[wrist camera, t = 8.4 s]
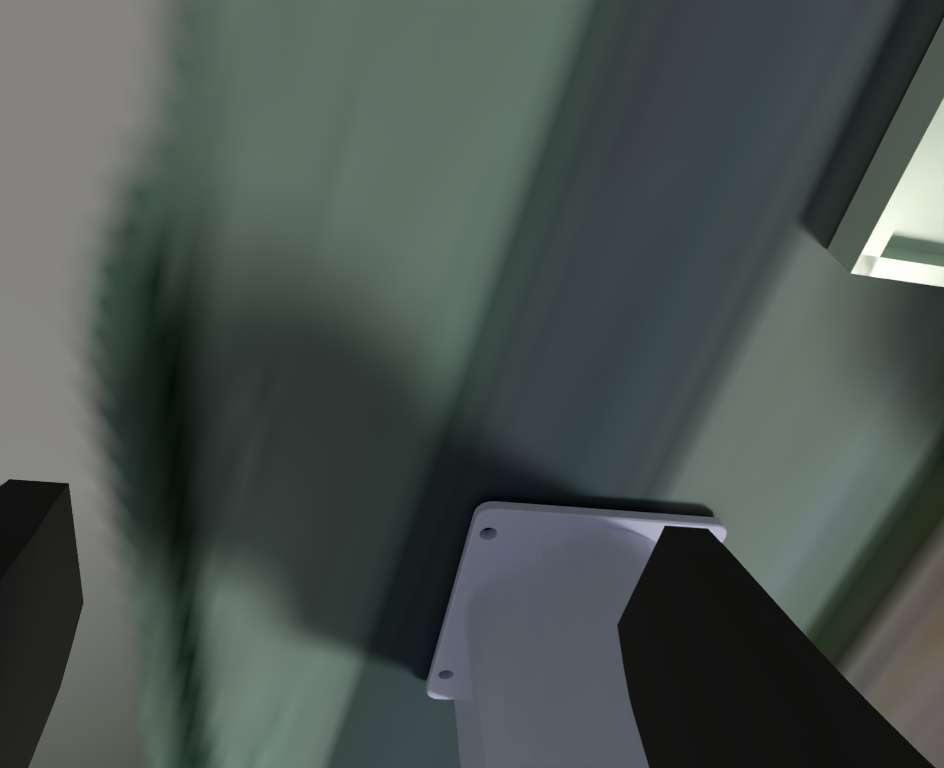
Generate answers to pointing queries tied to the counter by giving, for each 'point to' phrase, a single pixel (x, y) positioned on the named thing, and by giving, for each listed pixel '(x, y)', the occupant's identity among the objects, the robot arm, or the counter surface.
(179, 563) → the counter surface
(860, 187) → the tray
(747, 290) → the counter surface
